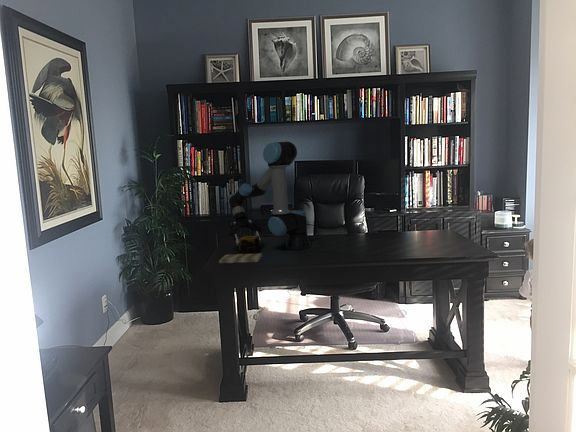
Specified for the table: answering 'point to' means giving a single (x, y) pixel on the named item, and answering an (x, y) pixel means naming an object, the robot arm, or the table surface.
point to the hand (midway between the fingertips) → (248, 242)
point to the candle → (249, 245)
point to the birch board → (240, 258)
